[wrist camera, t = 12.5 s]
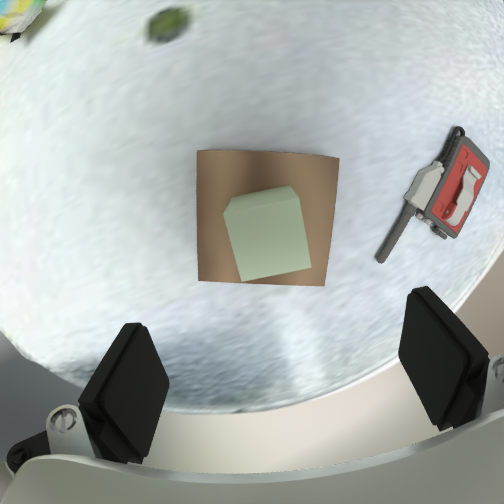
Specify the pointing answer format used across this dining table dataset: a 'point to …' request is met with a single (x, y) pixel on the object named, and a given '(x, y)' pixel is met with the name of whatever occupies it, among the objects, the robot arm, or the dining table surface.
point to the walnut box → (254, 180)
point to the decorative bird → (18, 15)
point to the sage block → (267, 233)
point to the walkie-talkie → (444, 190)
